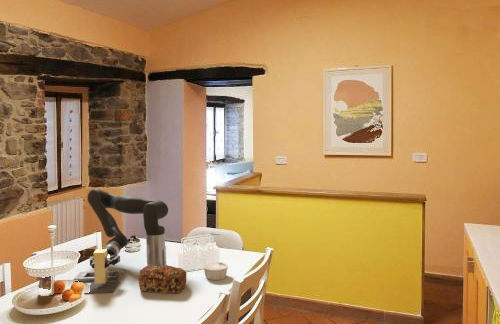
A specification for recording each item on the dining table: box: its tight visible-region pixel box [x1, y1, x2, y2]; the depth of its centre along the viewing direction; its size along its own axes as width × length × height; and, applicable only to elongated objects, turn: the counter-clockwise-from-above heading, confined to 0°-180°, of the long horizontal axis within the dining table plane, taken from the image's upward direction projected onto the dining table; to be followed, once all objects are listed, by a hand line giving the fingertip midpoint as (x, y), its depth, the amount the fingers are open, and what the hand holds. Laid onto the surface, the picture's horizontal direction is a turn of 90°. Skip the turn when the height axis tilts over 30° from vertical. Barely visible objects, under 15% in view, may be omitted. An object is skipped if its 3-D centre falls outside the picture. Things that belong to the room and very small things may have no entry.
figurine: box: [37, 275, 56, 290], centre depth 185 cm, size 7×7×12 cm
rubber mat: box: [88, 280, 120, 295], centre depth 191 cm, size 12×12×1 cm
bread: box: [138, 265, 187, 294], centre depth 189 cm, size 19×11×10 cm, turn 80°
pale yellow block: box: [93, 248, 109, 284], centre depth 190 cm, size 5×5×14 cm
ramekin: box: [203, 261, 229, 281], centre depth 203 cm, size 11×11×5 cm
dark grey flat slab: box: [73, 270, 124, 283], centre depth 203 cm, size 20×9×2 cm, turn 94°
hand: (99, 266), depth 187 cm, fingers closed on pale yellow block, 4 cm apart
